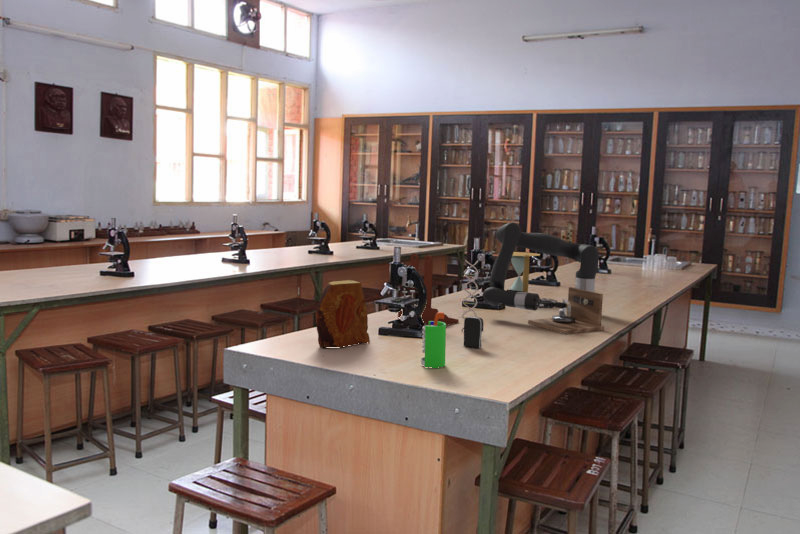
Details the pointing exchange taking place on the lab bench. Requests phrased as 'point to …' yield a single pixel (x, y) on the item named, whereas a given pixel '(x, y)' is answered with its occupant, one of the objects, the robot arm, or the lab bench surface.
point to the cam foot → (564, 314)
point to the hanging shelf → (429, 292)
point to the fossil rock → (342, 315)
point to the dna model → (471, 289)
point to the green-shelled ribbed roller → (434, 343)
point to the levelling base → (578, 313)
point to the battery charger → (473, 331)
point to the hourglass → (521, 270)
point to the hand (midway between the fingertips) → (564, 305)
